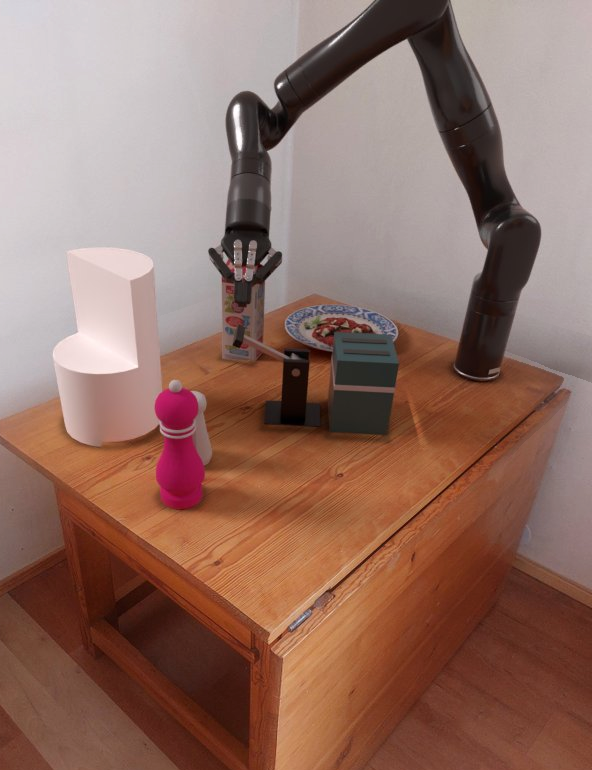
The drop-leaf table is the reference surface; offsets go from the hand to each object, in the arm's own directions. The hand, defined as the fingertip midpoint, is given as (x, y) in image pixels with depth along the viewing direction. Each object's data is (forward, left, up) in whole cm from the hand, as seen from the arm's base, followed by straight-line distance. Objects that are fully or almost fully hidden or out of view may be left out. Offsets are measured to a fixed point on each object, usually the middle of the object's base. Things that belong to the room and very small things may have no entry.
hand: (242, 305), depth 105 cm
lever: (0, +4, -9) cm, 10 cm away
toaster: (-6, +20, -21) cm, 30 cm away
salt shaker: (+18, 0, -21) cm, 28 cm away
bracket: (-2, +9, -21) cm, 23 cm away
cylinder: (+12, -19, -21) cm, 31 cm away
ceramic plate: (-40, +7, -21) cm, 46 cm away
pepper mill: (+26, +2, -21) cm, 33 cm away
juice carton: (-21, -9, -21) cm, 31 cm away
